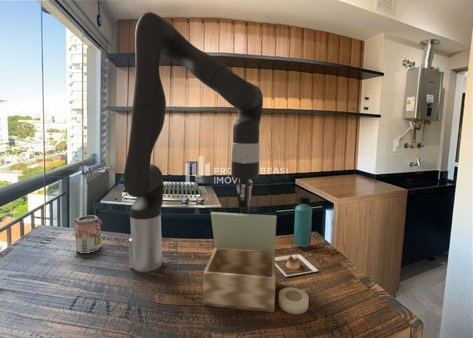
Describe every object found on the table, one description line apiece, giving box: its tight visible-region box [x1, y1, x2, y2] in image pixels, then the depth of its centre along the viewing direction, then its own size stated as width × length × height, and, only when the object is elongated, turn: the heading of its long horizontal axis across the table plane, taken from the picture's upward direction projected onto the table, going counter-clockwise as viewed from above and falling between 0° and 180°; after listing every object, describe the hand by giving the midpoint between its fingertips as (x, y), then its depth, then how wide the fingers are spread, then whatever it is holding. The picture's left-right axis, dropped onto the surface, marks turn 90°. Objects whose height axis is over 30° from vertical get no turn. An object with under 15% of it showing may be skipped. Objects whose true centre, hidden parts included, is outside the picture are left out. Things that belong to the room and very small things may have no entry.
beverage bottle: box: [293, 195, 313, 248], centre depth 103 cm, size 6×7×20 cm
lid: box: [210, 211, 278, 253], centre depth 77 cm, size 18×14×1 cm
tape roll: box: [278, 286, 310, 315], centre depth 71 cm, size 8×8×2 cm
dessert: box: [275, 253, 320, 278], centre depth 90 cm, size 12×12×5 cm
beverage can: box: [74, 214, 103, 253], centre depth 99 cm, size 9×8×12 cm
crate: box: [202, 247, 276, 313], centre depth 75 cm, size 18×14×9 cm
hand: (243, 220), depth 76 cm, fingers closed
